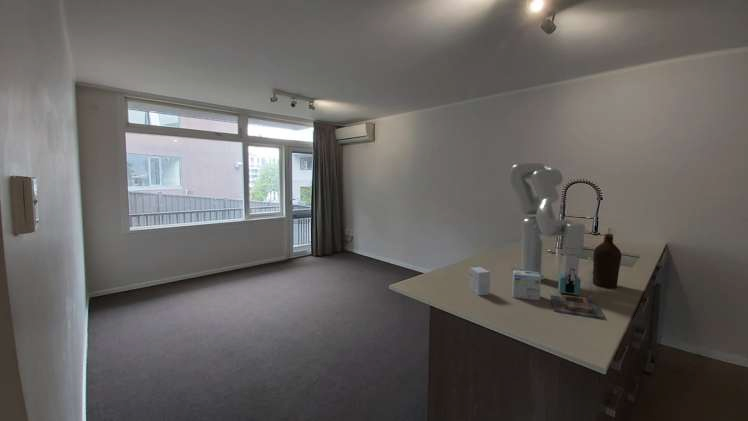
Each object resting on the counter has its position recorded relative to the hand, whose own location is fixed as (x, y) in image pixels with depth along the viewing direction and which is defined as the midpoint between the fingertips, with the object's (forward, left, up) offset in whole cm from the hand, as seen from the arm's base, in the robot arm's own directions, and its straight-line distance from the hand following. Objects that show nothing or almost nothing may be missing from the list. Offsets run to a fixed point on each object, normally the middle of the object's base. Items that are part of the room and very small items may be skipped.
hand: (568, 289), depth 139 cm
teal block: (0, 0, -1) cm, 1 cm away
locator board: (0, -15, -2) cm, 16 cm away
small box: (-37, -14, -2) cm, 39 cm away
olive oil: (+17, +20, -2) cm, 26 cm away
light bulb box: (-18, -11, -2) cm, 21 cm away
